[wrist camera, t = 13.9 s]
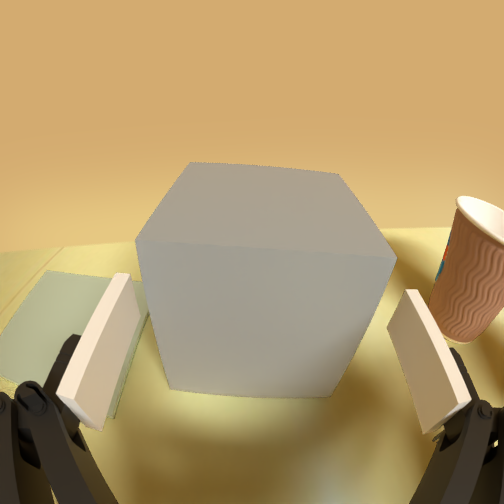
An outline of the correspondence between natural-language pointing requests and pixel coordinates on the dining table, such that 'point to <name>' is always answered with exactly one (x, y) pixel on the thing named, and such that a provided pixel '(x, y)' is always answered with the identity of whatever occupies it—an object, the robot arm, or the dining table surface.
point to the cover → (260, 279)
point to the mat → (58, 327)
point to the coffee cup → (470, 272)
